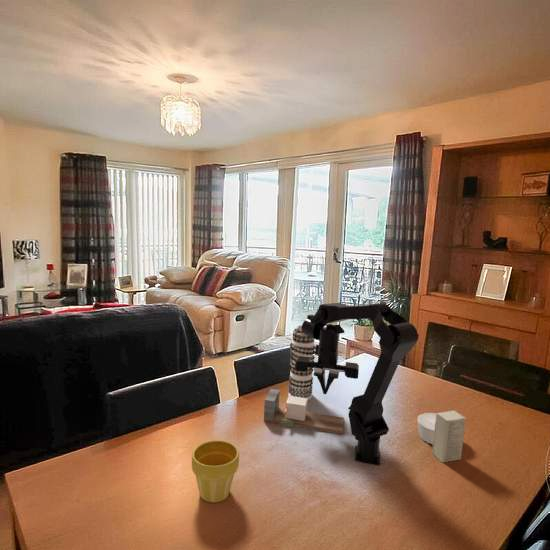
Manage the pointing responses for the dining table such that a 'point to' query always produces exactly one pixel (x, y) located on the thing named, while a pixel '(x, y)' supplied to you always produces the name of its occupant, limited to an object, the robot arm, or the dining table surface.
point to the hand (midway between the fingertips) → (325, 393)
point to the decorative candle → (301, 347)
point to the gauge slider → (296, 408)
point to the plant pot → (215, 468)
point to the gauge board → (311, 420)
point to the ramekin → (427, 426)
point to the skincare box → (448, 436)
